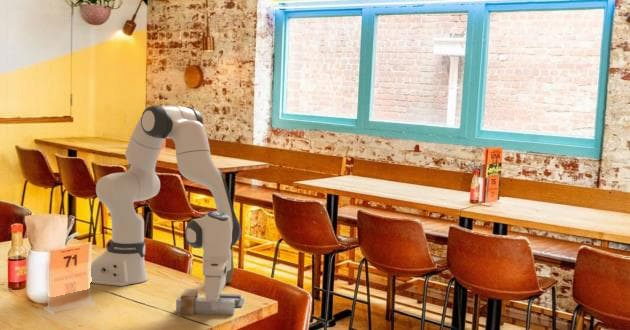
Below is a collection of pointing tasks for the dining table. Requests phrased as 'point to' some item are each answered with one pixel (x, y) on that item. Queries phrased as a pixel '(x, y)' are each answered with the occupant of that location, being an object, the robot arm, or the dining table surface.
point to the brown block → (188, 301)
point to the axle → (205, 306)
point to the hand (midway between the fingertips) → (215, 306)
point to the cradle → (237, 298)
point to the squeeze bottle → (230, 272)
